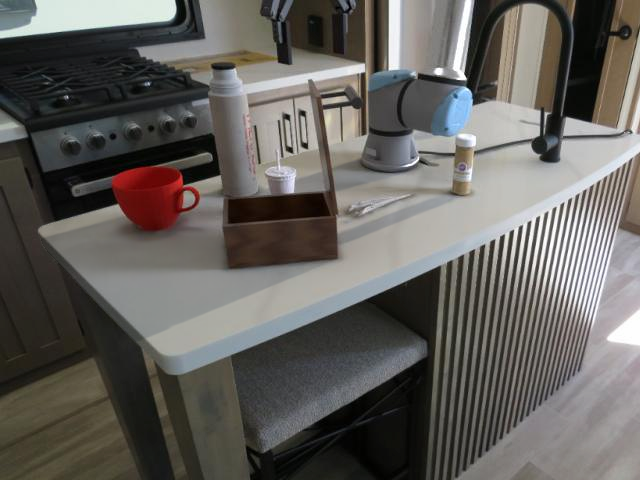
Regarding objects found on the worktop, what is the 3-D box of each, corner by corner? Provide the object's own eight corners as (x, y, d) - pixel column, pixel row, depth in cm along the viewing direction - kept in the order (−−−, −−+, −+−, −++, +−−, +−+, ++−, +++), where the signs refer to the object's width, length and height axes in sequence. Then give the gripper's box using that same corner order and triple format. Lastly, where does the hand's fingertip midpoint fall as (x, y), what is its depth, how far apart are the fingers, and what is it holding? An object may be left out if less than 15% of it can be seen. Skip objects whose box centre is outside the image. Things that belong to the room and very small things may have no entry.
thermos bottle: (263, 186, 134) (249, 60, 119) (249, 198, 128) (232, 68, 113) (232, 183, 136) (214, 58, 120) (217, 195, 129) (196, 65, 114)
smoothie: (288, 205, 125) (282, 143, 118) (305, 214, 122) (300, 151, 114) (263, 213, 122) (256, 149, 114) (280, 223, 118) (274, 157, 110)
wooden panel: (316, 96, 89) (364, 90, 90) (307, 79, 99) (351, 73, 101) (334, 215, 101) (376, 208, 102) (325, 188, 111) (363, 182, 112)
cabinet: (229, 268, 101) (222, 226, 97) (229, 237, 112) (223, 197, 107) (338, 258, 106) (336, 217, 101) (328, 229, 116) (327, 190, 111)
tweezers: (359, 218, 121) (359, 209, 120) (345, 211, 124) (345, 203, 123) (417, 203, 131) (418, 195, 130) (404, 197, 134) (404, 189, 133)
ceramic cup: (189, 243, 109) (179, 195, 104) (109, 234, 111) (96, 186, 106) (218, 216, 120) (211, 171, 114) (145, 208, 122) (134, 163, 117)
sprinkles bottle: (452, 195, 133) (457, 138, 125) (450, 188, 136) (454, 132, 129) (471, 195, 133) (477, 139, 125) (469, 188, 137) (474, 133, 129)
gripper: (342, -85, 98) (345, 47, 109) (225, -92, 81) (243, 65, 92) (375, -85, 94) (375, 52, 106) (260, -92, 77) (274, 72, 89)
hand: (313, 58), depth 99 cm, fingers open, 13 cm apart
